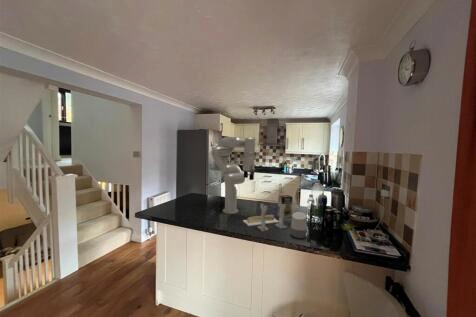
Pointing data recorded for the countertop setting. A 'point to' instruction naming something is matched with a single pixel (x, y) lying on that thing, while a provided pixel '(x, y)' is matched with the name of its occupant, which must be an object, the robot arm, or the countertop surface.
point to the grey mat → (260, 222)
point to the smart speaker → (299, 225)
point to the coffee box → (288, 208)
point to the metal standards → (263, 214)
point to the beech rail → (259, 218)
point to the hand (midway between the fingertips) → (248, 178)
